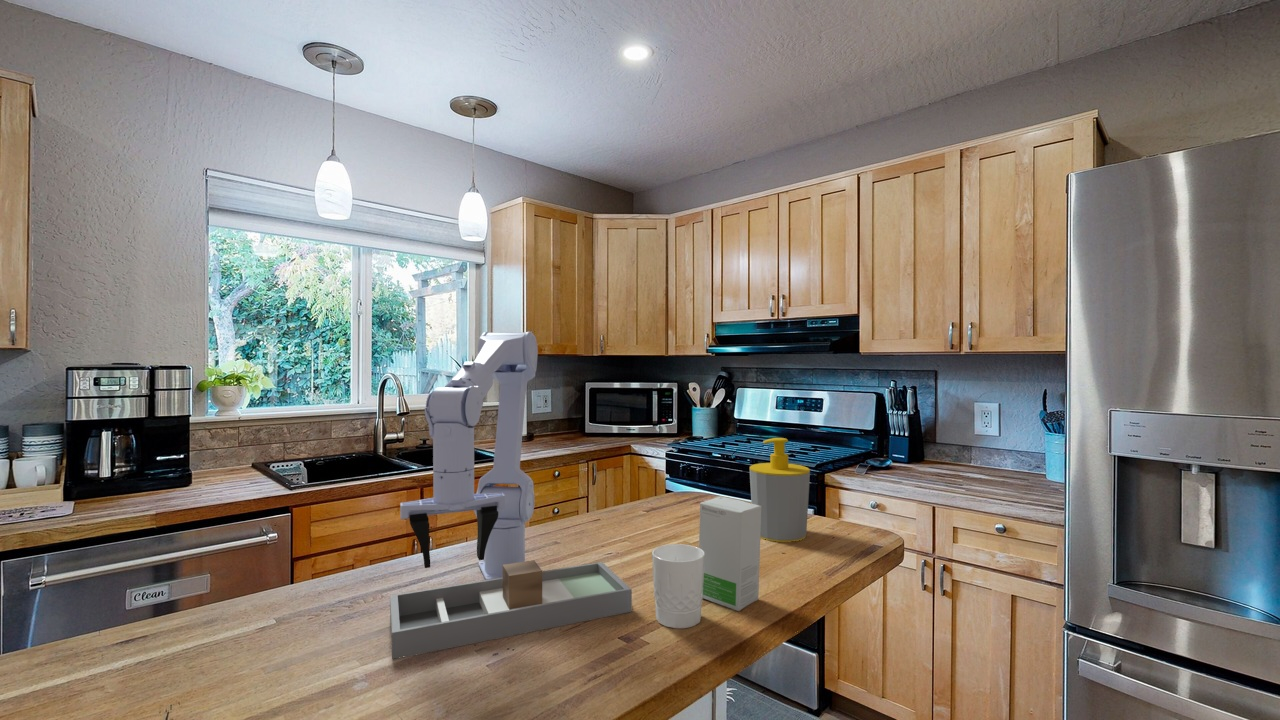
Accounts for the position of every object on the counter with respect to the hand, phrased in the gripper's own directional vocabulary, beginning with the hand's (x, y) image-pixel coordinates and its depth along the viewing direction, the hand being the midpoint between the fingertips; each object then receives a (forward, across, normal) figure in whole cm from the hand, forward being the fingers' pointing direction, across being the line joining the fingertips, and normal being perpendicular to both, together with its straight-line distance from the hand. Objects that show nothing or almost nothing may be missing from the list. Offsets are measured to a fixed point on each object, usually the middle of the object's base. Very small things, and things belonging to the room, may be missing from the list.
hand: (454, 561), depth 84 cm
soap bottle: (+10, +71, +16) cm, 73 cm away
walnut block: (+7, +10, 0) cm, 12 cm away
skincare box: (+10, +42, -8) cm, 44 cm away
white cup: (+10, +31, -12) cm, 34 cm away
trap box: (+9, +8, 0) cm, 13 cm away
